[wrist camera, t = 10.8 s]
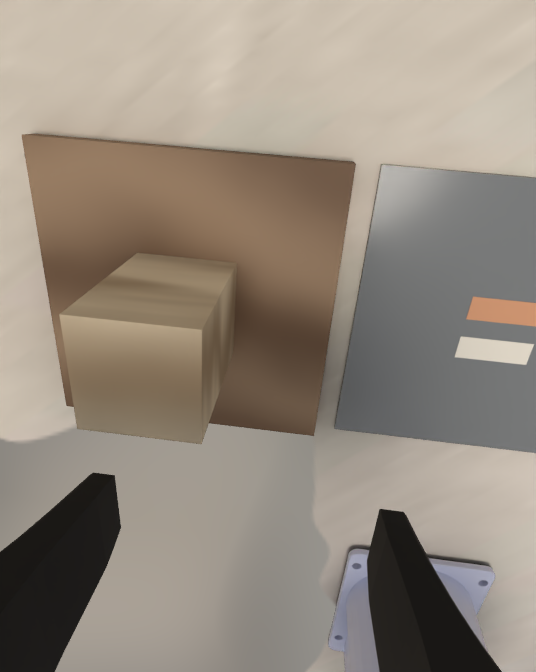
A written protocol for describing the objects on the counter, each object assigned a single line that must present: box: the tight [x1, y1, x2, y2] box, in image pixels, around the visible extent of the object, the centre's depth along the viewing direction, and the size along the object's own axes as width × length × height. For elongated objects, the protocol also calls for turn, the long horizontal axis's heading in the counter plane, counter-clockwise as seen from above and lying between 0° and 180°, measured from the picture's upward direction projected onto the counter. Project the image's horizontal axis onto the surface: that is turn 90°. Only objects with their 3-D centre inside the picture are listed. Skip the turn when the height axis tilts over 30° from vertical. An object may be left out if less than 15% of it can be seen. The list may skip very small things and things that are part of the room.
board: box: [22, 134, 356, 436], centre depth 19 cm, size 12×12×1 cm
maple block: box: [59, 253, 237, 444], centre depth 16 cm, size 4×4×6 cm
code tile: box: [335, 164, 536, 453], centre depth 18 cm, size 12×12×1 cm
